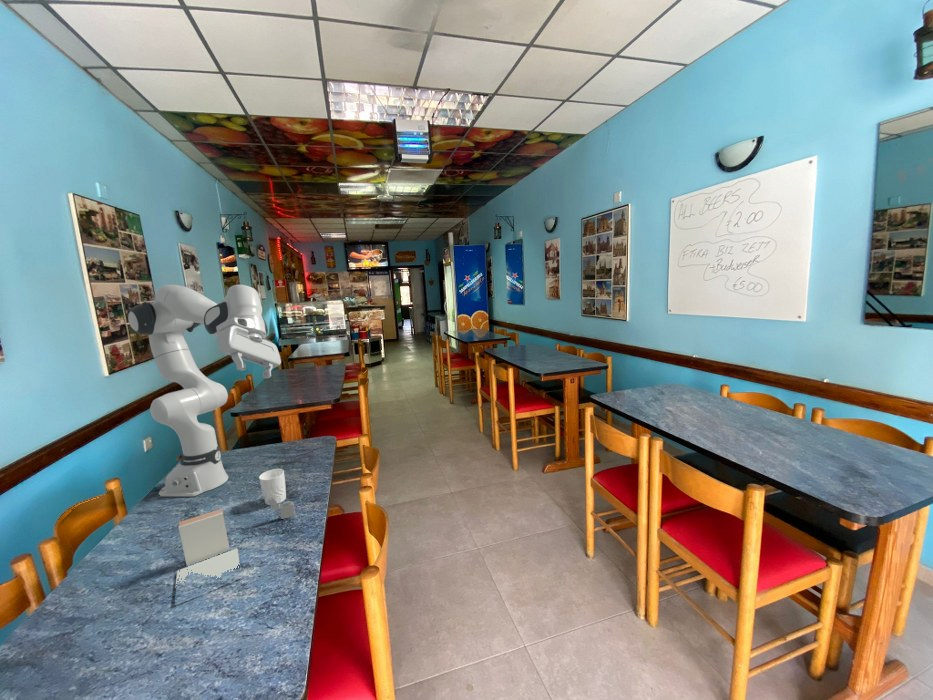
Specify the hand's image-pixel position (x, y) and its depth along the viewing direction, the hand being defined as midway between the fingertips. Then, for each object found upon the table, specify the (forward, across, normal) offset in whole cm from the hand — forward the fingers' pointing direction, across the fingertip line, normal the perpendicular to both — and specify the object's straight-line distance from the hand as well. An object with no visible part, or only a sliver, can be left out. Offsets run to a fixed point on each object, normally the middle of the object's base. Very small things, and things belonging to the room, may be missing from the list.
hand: (254, 373), depth 109 cm
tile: (+41, -11, -32) cm, 53 cm away
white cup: (+29, -36, -28) cm, 54 cm away
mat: (+47, -5, -26) cm, 54 cm away
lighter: (+37, -28, -20) cm, 51 cm away
